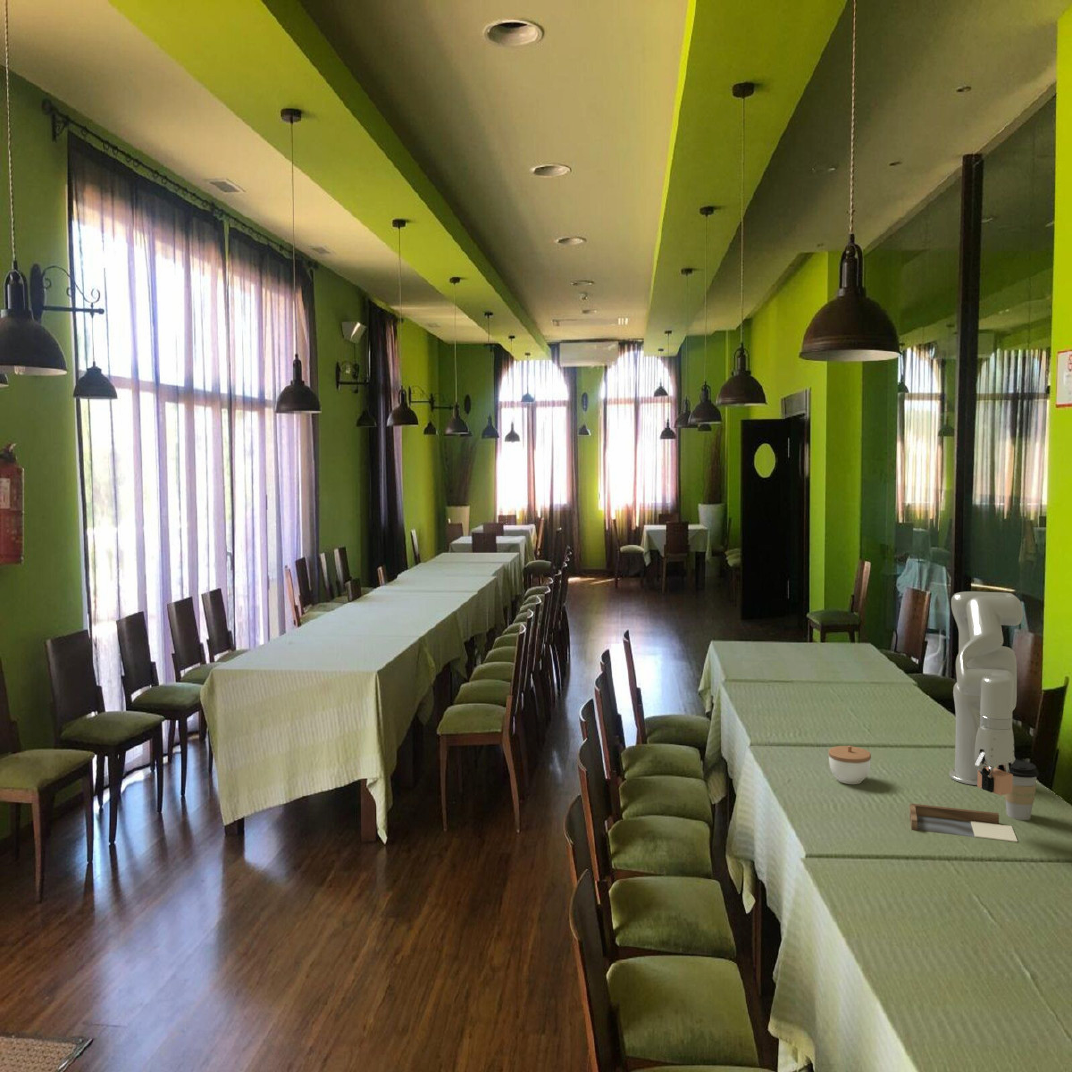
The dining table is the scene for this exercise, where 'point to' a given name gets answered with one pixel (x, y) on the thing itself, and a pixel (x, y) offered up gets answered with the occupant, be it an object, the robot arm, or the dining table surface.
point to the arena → (948, 819)
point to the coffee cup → (1021, 790)
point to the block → (999, 781)
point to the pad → (993, 831)
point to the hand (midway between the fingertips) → (994, 788)
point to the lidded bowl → (849, 763)
